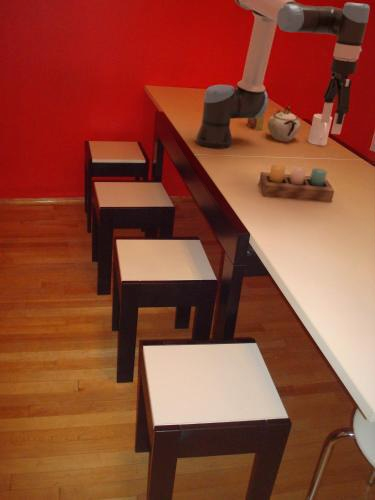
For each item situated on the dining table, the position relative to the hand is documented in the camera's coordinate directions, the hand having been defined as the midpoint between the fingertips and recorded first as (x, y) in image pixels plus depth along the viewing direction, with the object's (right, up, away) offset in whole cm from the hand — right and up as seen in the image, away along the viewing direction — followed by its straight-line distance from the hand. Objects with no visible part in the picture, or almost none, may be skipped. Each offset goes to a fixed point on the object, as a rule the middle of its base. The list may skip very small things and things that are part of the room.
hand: (329, 128), depth 162 cm
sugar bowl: (-4, +11, +65) cm, 66 cm away
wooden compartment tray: (-10, -20, +9) cm, 24 cm away
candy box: (-14, +19, +77) cm, 81 cm away
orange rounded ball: (-16, -16, +7) cm, 24 cm away
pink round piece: (-10, -17, +7) cm, 21 cm away
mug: (+12, +8, +63) cm, 64 cm away
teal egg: (-3, -18, +7) cm, 19 cm away
